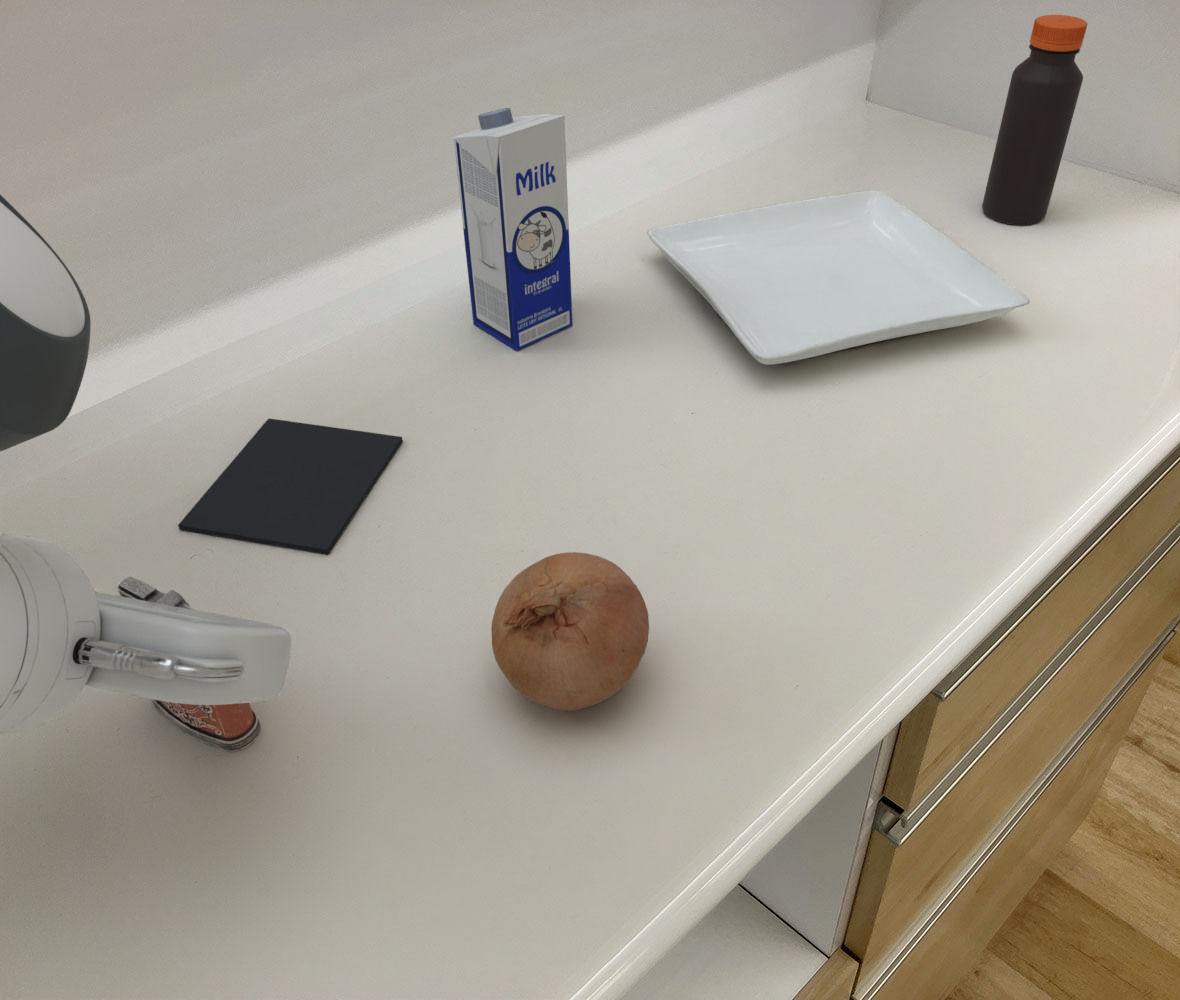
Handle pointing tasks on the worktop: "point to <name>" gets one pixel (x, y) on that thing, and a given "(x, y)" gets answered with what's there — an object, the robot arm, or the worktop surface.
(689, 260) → the square plate
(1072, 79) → the bottle
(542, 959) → the worktop surface
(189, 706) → the lighter
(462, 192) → the milk carton
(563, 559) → the onion
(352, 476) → the mat
